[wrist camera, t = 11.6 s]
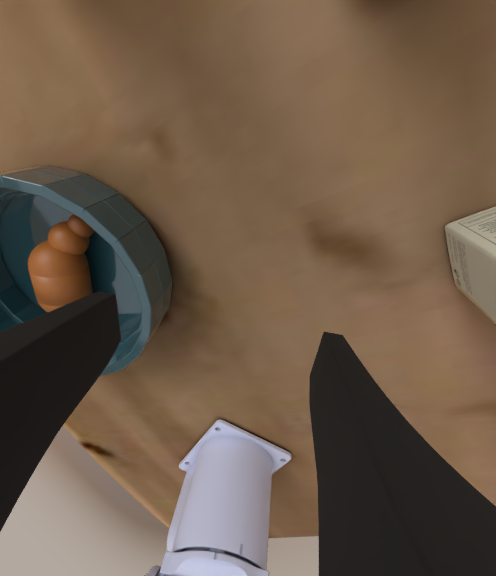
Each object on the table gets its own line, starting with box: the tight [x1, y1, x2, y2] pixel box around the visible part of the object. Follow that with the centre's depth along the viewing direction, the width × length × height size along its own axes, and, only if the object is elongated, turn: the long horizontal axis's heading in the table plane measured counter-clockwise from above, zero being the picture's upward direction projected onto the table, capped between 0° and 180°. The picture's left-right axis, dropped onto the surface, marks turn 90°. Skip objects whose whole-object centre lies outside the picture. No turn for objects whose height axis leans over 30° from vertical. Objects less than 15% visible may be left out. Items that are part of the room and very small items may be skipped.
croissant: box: [28, 214, 94, 312], centre depth 19 cm, size 4×8×3 cm, turn 173°
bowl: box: [0, 166, 172, 376], centre depth 19 cm, size 13×13×4 cm
